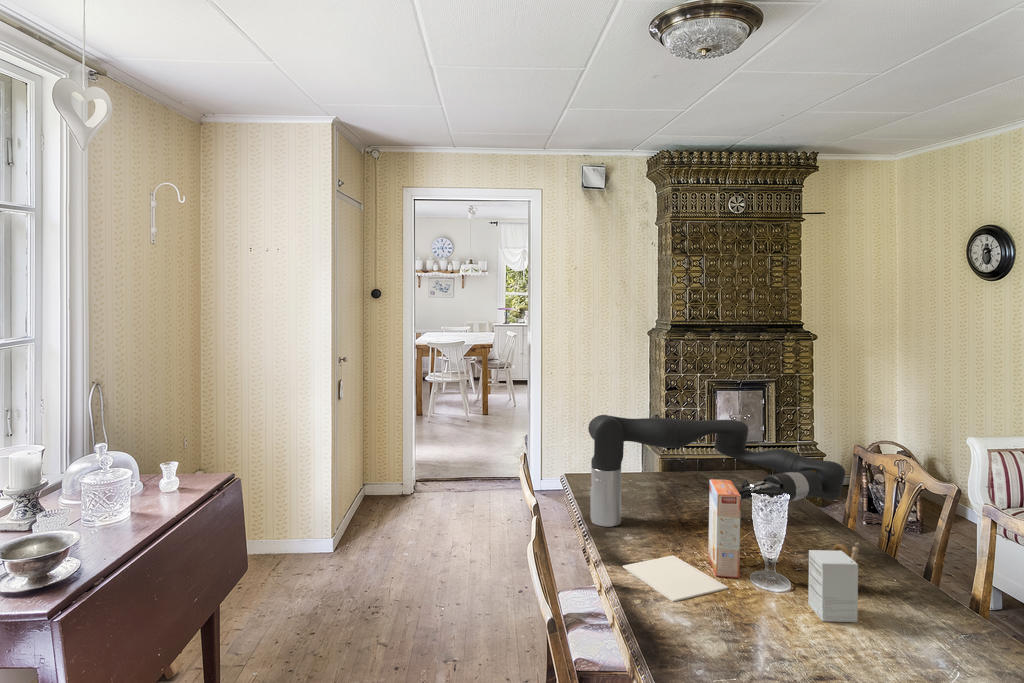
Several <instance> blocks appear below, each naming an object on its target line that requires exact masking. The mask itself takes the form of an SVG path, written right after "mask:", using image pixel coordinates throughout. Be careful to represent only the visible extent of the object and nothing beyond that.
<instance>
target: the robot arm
mask: <svg viewBox="0 0 1024 683" xmlns="http://www.w3.org/2000/svg"><path fill="white" fill-rule="evenodd" d="M587 429H588V433H589V436H590V438H592V440H593V441H594V442H593V443H594V444H593V446H594V447H593V449H594V450H593V456H592V457H591V462H590V463H591V465H590V466H591V468H590V469H591V470H590V472H591V475H590V476H591V477H590V478H591V479H590V480H591V488H590V490H589V493H590V494H589V497H590V500H589V502H590V503H589V507H590V509H589V510H590V511H589V512H590V513H589V514H590V516H589V517H590V518H589V519H590V520H591V522H592V524H593V525H596V526H598V527H599V526H600V527H608V528H609V527H614V526H619V525H621V523H622V462H623V460H624V446H625V445H624V444H625V443H624V442H633V443H638V444H642V445H645V446H646V445H647V446H651V447H657V448H661V449H662V448H663V449H666V448H667V449H680V448H684V447H686V446H688V445H690V444H692V443H694V442H696V441H698V440H699V439H701V438H702V437H706V436H708V435H714V434H716V436H715V442H714V449H715V450H716V451H717V452H718V453H720V454H722V455H724V456H726V457H729V458H733V459H736V460H739V461H743V462H745V463H749V464H754V465H757V466H760V467H764V468H767V469H770V470H773V471H776V472H778V473H775V474H774V473H773V474H769V475H767V476H766V477H765V478H764V480H761V481H756V482H754V483H751V482H749V480H743V482H742V484H741V487H740V488H739V489H737V491H738V492H739V494H740V495H741V501H742V500H746V499H750V500H753V499H752V495H751V493H756V494H767V495H769V496H770V497H774V496H778V495H782V494H783V493H787V494H789V495H790V500H789V502H795V501H798V500H801V499H805V498H820V499H824V500H829V501H830V500H831V501H833V500H836V499H837V498H839V497H840V496H841V495H842V491H843V486H844V482H845V478H846V469H845V468H844V467H843V466H842V464H840V463H838V462H835V461H831V460H824V459H823V460H821V459H815V458H809V457H806V456H803V455H801V454H797V453H795V452H793V451H790V450H787V449H784V448H783V449H782V448H776V449H775V448H774V449H769V450H763V451H750V450H748V449H746V445H747V440H748V434H749V427H748V425H747V424H746V422H743V421H739V420H736V419H708V420H707V419H705V420H702V419H699V420H698V419H695V420H694V419H680V418H665V417H663V418H662V417H661V418H659V417H656V418H655V417H654V418H653V417H651V418H649V417H647V418H645V417H644V418H627V417H620V416H619V417H618V416H613V415H608V414H600V415H596V416H594V417H593V418H592V419H591V420H590V422H589V424H588V427H587ZM751 488H752V489H751ZM750 489H751V490H750Z"/></svg>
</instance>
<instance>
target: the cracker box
mask: <svg viewBox="0 0 1024 683" xmlns="http://www.w3.org/2000/svg"><path fill="white" fill-rule="evenodd" d="M708 484H709V498H708V501H709V503H708V507H709V508H708V550H707V551H708V552H707V554H708V558H709V560H710V561H709V562H710V564H711V567H712V569H713V571H714V572H713V573H714V575H715V576H716V577H722V578H732V579H733V578H735V579H740V551H741V549H740V548H741V547H740V545H741V543H740V542H741V504H742V502H741V501H742V500H741V495H740V494H739V492H738V491H737V490H738V489H737V487H736V485H734V483H733V481H732V480H729V479H712V478H711V479H709V483H708Z"/></svg>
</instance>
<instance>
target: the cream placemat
mask: <svg viewBox="0 0 1024 683" xmlns="http://www.w3.org/2000/svg"><path fill="white" fill-rule="evenodd" d="M622 568H624V570H626V571H627V572H628V573H630V574H632V575H633V576H635V577H636V578H637V579H639V580H641V581H642V582H643V583H645V584H646V585H648V586H649V587H651V588H652V589H653V590H655V591H656V592H658V593H659V594H661V595H662V596H664V597H665V598H667V599H668V600H669V601H671V602H673V603H675V602H678V601H682V600H686V599H687V600H688V599H690V598H695V597H698V596H703V595H707V594H711V593H715V592H716V593H717V592H719V591H724V590H729V586H727V585H725V584H724V583H722V582H720V581H719V580H716V579H715V578H713V577H712V576H710V575H708V574H706V573H705V572H703V571H701V570H700V569H697V568H696V567H694V566H692V565H691V564H689V563H687V562H685V561H684V560H682V559H680V558H678V557H677V556H675V555H669V556H663V557H659V558H654V559H653V558H652V559H649V560H644V561H639V562H634V563H633V562H632V563H629V564H625V565H622Z"/></svg>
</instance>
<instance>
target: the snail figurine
mask: <svg viewBox="0 0 1024 683" xmlns="http://www.w3.org/2000/svg"><path fill="white" fill-rule="evenodd" d="M859 545H860V542H855V546H853V547H852V548H851V550H850V549H849V547H847V545H845V544H843V543H840V542H839V543H835V544H833V547H832V551H843V552H844V553H845V554H846V555H848V556H849V557H850V558H851V559H852V560H854V561H855V562H856V561H857V558H858V553H859V551H860V550H859ZM851 551H852V552H851Z"/></svg>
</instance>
